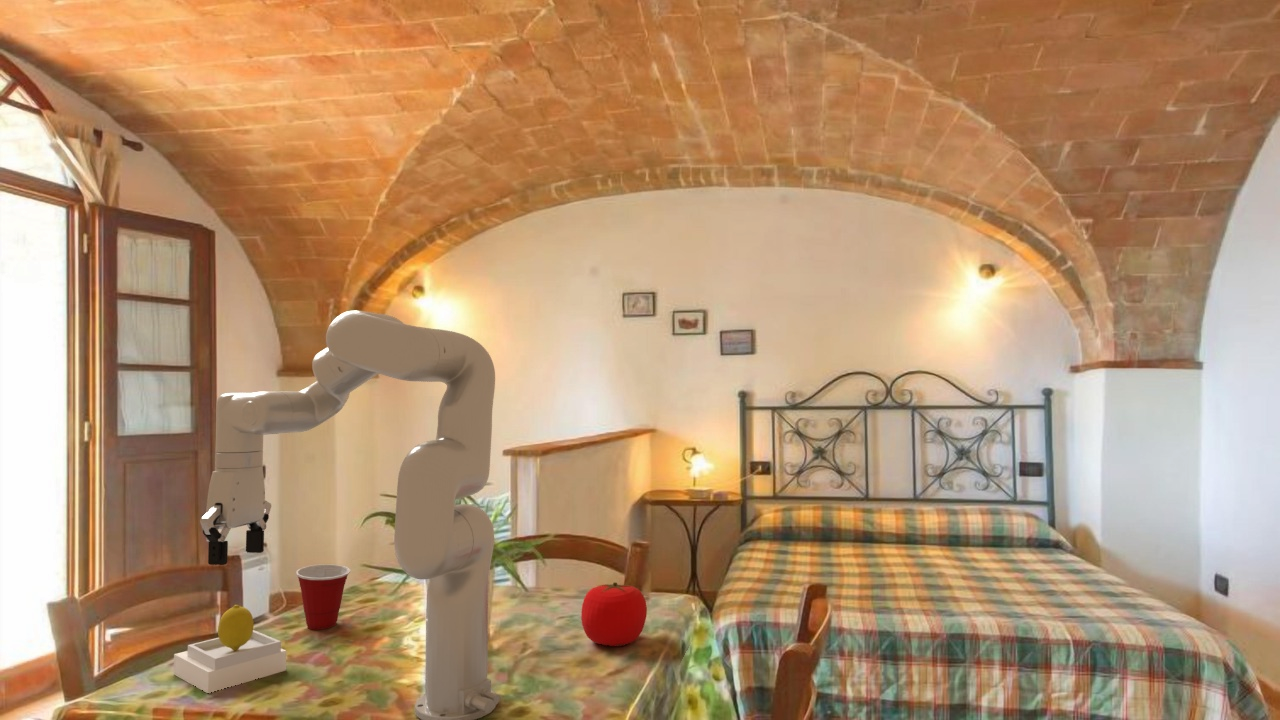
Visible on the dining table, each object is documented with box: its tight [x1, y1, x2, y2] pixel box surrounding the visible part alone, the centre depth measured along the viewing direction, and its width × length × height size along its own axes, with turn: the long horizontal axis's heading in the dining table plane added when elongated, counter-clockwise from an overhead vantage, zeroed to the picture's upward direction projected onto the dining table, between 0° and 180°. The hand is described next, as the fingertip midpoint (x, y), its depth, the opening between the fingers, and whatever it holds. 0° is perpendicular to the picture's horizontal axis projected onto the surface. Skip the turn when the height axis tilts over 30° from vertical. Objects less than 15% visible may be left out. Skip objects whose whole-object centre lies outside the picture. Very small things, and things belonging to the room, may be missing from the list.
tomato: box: [580, 582, 648, 647], centre depth 147 cm, size 13×14×12 cm
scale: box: [173, 629, 287, 694], centre depth 131 cm, size 14×13×5 cm
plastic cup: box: [295, 563, 351, 631], centre depth 157 cm, size 11×11×12 cm
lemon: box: [217, 604, 255, 651], centre depth 130 cm, size 6×6×8 cm
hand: (236, 558), depth 131 cm, fingers open, 9 cm apart
